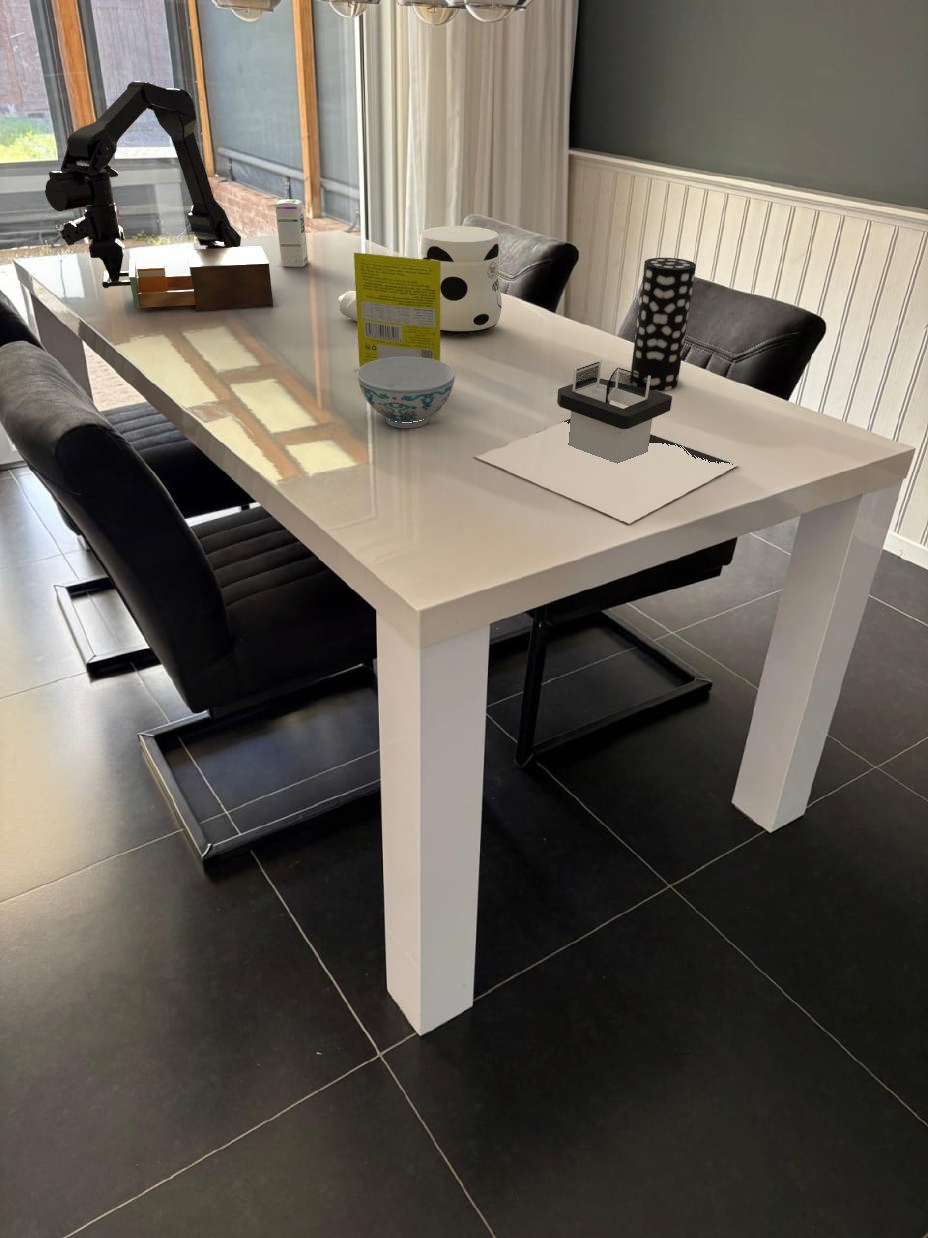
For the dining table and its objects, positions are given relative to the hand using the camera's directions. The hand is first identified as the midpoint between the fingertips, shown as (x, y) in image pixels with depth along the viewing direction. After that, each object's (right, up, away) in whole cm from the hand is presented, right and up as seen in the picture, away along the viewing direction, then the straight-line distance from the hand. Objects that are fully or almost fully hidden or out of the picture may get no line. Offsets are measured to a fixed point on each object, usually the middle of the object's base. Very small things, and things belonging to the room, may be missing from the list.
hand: (115, 284), depth 188 cm
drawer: (+8, -1, +4) cm, 9 cm away
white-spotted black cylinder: (+107, -29, -31) cm, 115 cm away
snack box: (+7, -1, +3) cm, 8 cm away
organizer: (+22, 0, +8) cm, 24 cm away
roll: (+51, -9, -3) cm, 52 cm away
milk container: (+72, -11, -6) cm, 73 cm away
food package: (+62, -28, -30) cm, 74 cm away
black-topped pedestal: (+94, -48, -59) cm, 121 cm away
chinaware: (+65, -39, -47) cm, 89 cm away
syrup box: (+31, +18, +36) cm, 51 cm away
